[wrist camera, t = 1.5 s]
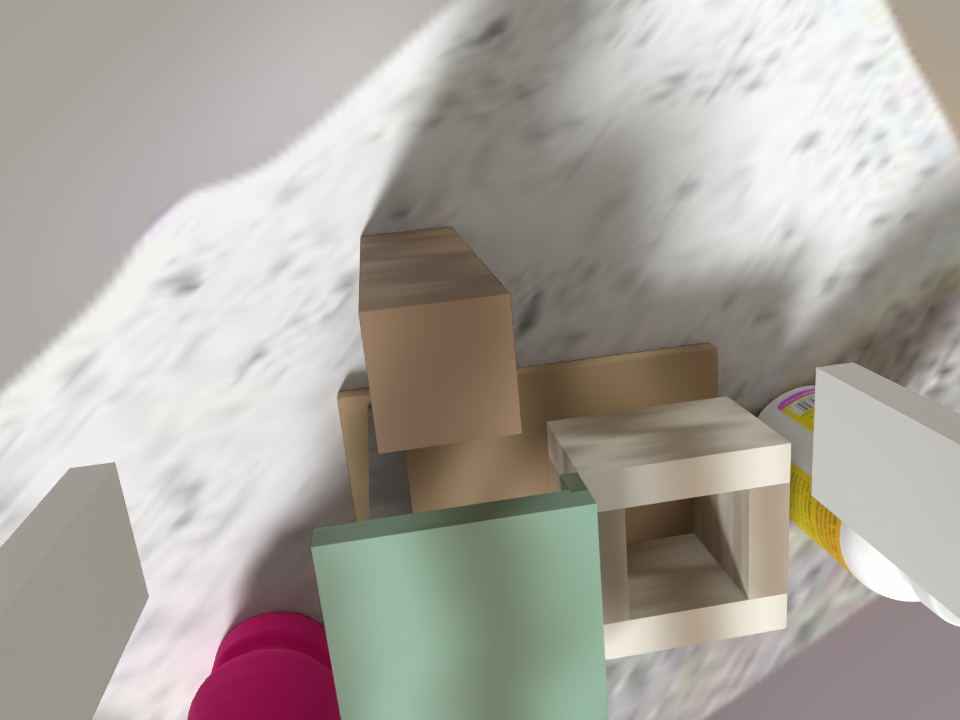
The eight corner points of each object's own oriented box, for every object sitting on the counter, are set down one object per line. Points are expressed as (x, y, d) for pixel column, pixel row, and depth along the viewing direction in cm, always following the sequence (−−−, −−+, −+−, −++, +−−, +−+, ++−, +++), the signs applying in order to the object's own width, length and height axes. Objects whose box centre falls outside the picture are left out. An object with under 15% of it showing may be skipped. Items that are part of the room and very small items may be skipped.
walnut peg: (372, 324, 36) (378, 453, 22) (360, 236, 35) (358, 312, 20) (459, 313, 36) (521, 433, 22) (450, 226, 35) (509, 293, 21)
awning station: (367, 648, 40) (369, 882, 28) (327, 393, 36) (308, 532, 24) (718, 589, 43) (867, 781, 30) (718, 341, 38) (890, 444, 26)
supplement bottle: (803, 521, 42) (982, 681, 30) (714, 459, 40) (867, 603, 28) (885, 423, 41) (1106, 548, 29) (798, 355, 39) (995, 457, 27)
